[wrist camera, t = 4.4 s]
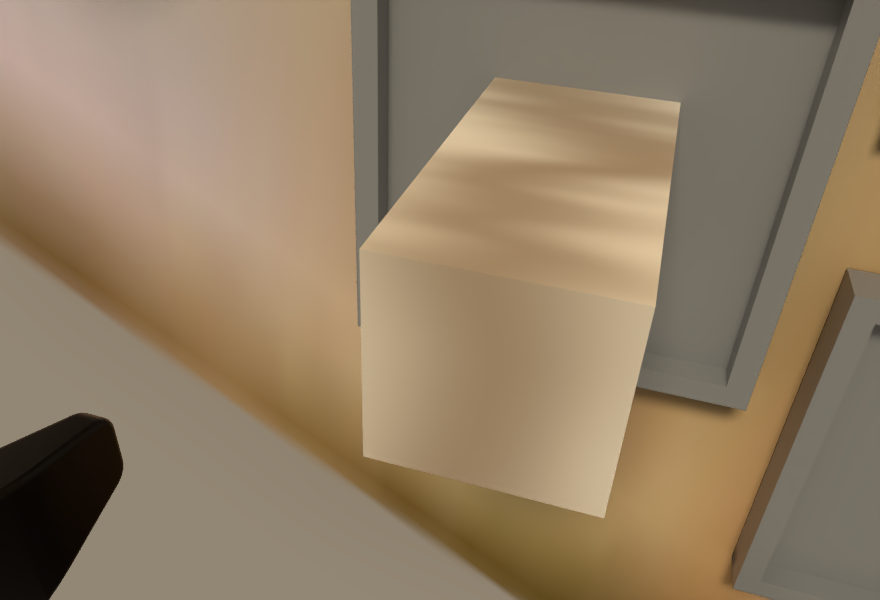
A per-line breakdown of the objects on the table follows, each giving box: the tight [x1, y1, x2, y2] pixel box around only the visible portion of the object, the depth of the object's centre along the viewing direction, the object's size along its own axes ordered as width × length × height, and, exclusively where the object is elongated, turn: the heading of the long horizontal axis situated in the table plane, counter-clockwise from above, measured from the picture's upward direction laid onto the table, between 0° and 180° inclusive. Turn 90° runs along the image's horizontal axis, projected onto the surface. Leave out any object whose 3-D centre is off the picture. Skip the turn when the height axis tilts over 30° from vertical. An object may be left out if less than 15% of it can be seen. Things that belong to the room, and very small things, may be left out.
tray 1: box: [351, 0, 880, 411], centre depth 18 cm, size 10×10×1 cm
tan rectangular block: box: [359, 77, 681, 518], centre depth 14 cm, size 4×4×8 cm
